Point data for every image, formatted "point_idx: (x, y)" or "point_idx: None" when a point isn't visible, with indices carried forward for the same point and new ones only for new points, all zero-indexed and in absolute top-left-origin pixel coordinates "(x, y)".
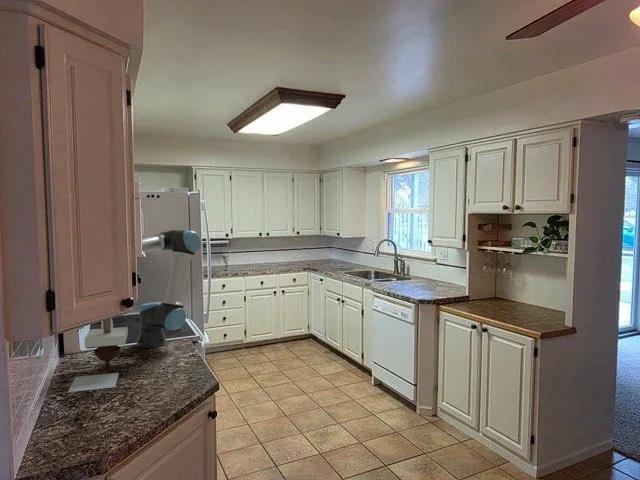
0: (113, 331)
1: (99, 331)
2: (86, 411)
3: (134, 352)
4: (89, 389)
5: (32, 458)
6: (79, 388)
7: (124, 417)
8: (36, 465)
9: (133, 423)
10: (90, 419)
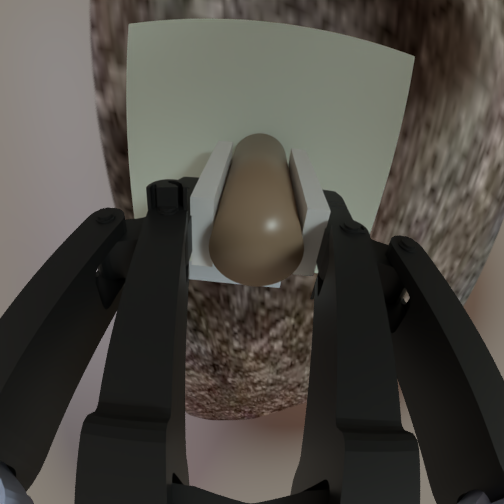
0: (305, 147)
1: (200, 106)
2: (225, 353)
3: None
4: (217, 280)
5: (188, 405)
6: (190, 265)
7: (284, 380)
8: (196, 411)
9: (293, 391)
10: (235, 372)
